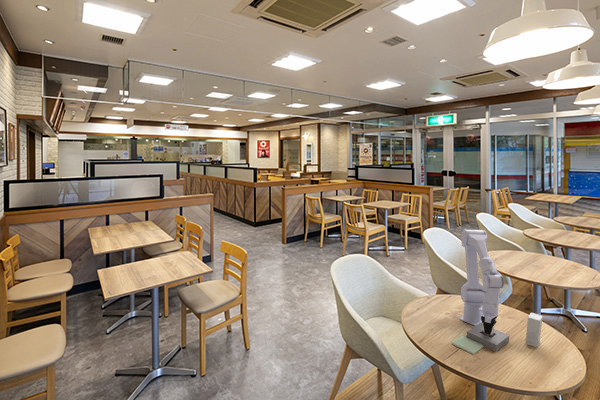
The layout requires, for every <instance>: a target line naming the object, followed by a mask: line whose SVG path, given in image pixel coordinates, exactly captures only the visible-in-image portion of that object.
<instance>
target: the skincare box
mask: <svg viewBox="0 0 600 400" xmlns="http://www.w3.org/2000/svg"><path fill="white" fill-rule="evenodd" d="M542 325H543V315H541V314H538V313H535V312H530V313H529V315H528V317H527V325H526V335H525V336H526V337H525V344H526V345H529V346H531V347H534V348H538V347H539V345H540V342H541V335H542V333H541V332H542Z"/></svg>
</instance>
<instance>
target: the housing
mask: <svg viewBox="0 0 600 400" xmlns="http://www.w3.org/2000/svg"><path fill="white" fill-rule="evenodd" d="M482 333H483V323H480V324H478V325H476V326H472V327H471V328H470V329H468V330H467V331H466V336H465V337H467V338H469V339H471V340H473V341H476V342H478V343H480V344H482V345H484V348H487V349H489V350H492V351H493V352H498V351H499V350H500V349H501V348H504V346H506V345H507V344H508V343H509V342H510V335H509V334H508V333H505V332H503V331H501V330H498V329H496V328H494V334H493V337H492V338H491V337H488V336H486V335H484V334H482Z"/></svg>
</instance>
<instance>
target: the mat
mask: <svg viewBox="0 0 600 400" xmlns="http://www.w3.org/2000/svg"><path fill="white" fill-rule="evenodd" d="M451 344H452V345H453V346H455V347H458V348H459V349H462V350H463V351H466V352H467V353H469V354H472V355H474V354H476V353H478V352H479V351H480V350H481V349H483V348H485V346H484V345H482V344H480V343H478V342H476V341H473V340H471V339H469V338H467V337H466V336H464V335H461V336H459V337H458V338H456V339H455V340H453V341H452V342H451Z"/></svg>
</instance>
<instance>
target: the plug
mask: <svg viewBox="0 0 600 400" xmlns="http://www.w3.org/2000/svg"><path fill="white" fill-rule="evenodd" d="M494 329H495V325H494V326H493V328H492V332H491V334H490V335H489V334H485V332H484V326H483V333H482V334H484V335H486V336H488V337H491V338H492V337H493V334H494Z"/></svg>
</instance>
